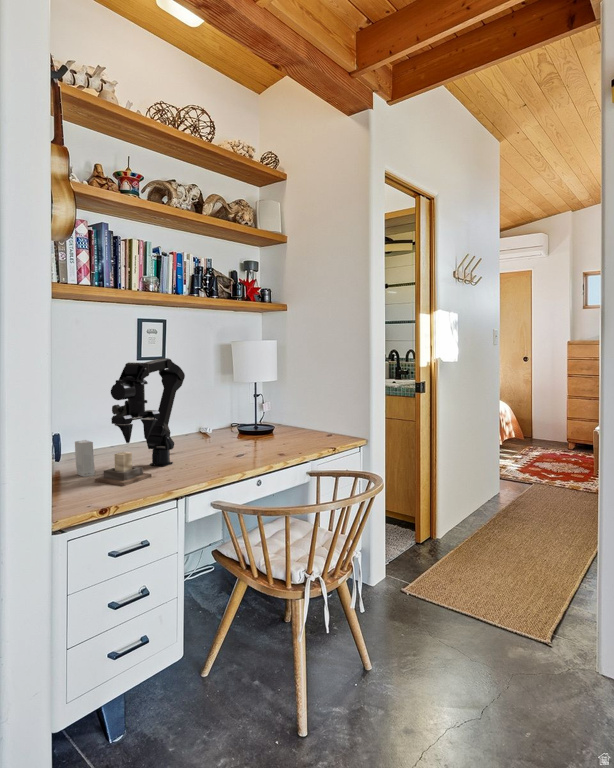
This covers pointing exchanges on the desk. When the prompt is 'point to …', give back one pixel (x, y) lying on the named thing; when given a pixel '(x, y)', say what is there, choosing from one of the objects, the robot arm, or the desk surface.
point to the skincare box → (84, 458)
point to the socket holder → (123, 476)
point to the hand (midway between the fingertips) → (137, 440)
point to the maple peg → (123, 461)
